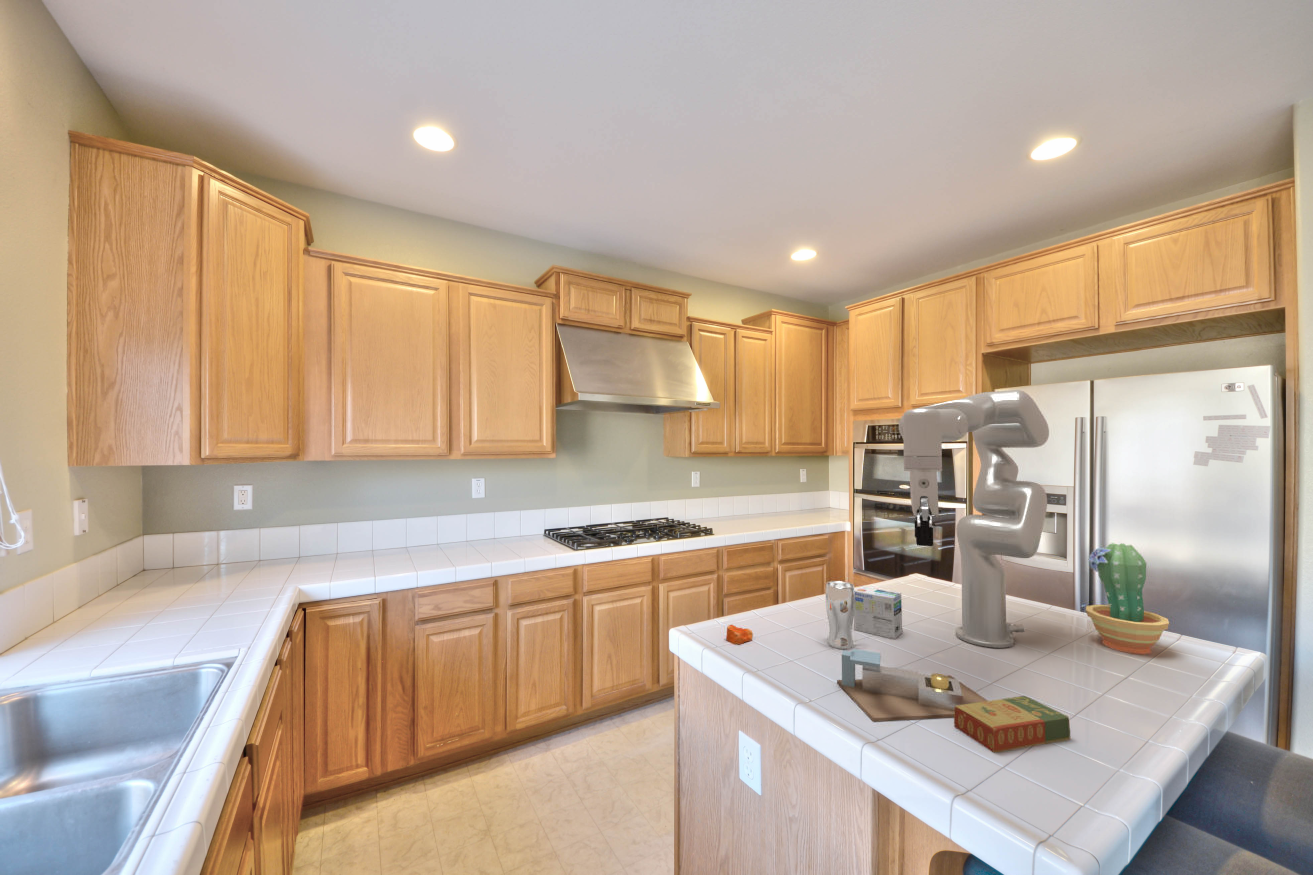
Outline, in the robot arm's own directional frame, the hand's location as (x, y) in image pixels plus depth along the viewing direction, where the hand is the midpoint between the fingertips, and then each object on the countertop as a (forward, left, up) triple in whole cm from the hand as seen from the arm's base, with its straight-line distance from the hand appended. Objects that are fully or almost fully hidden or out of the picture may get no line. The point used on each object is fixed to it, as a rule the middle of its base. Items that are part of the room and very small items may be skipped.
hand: (923, 541), depth 113 cm
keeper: (+18, +7, -28) cm, 34 cm away
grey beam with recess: (+10, +11, -28) cm, 32 cm away
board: (+10, +12, -28) cm, 32 cm away
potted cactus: (-57, -8, -28) cm, 64 cm away
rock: (+36, -21, -29) cm, 51 cm away
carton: (0, +25, -29) cm, 38 cm away
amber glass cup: (+6, +14, -28) cm, 32 cm away
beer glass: (+12, -16, -28) cm, 35 cm away
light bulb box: (-2, -24, -29) cm, 37 cm away
